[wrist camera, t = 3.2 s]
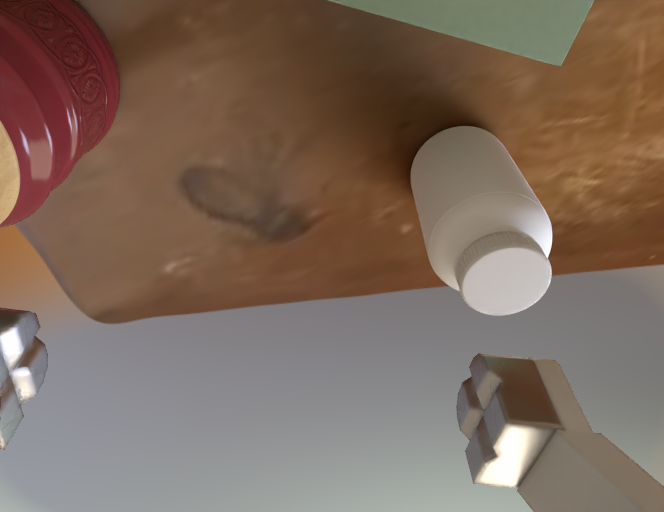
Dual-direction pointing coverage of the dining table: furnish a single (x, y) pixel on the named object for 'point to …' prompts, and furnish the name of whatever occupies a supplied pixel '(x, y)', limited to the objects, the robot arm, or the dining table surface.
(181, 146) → the dining table surface
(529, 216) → the pill bottle
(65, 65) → the kitchen canister
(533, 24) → the cabinet
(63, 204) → the dining table surface
